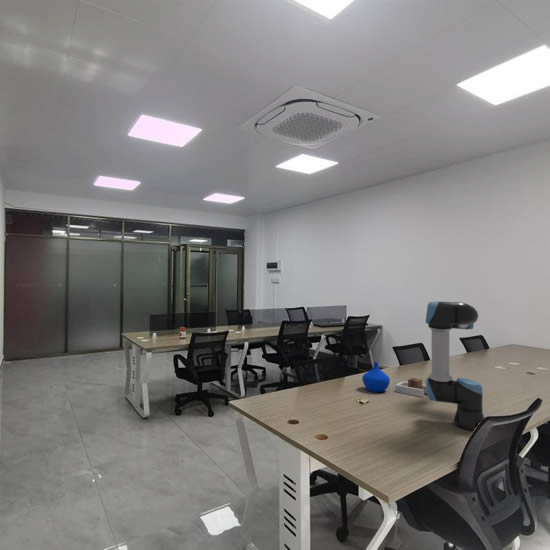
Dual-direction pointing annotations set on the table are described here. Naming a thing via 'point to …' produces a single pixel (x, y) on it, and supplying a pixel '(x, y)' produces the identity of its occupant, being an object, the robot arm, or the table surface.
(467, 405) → the robot arm
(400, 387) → the lane
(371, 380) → the vase
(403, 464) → the table surface
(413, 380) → the tethered block
